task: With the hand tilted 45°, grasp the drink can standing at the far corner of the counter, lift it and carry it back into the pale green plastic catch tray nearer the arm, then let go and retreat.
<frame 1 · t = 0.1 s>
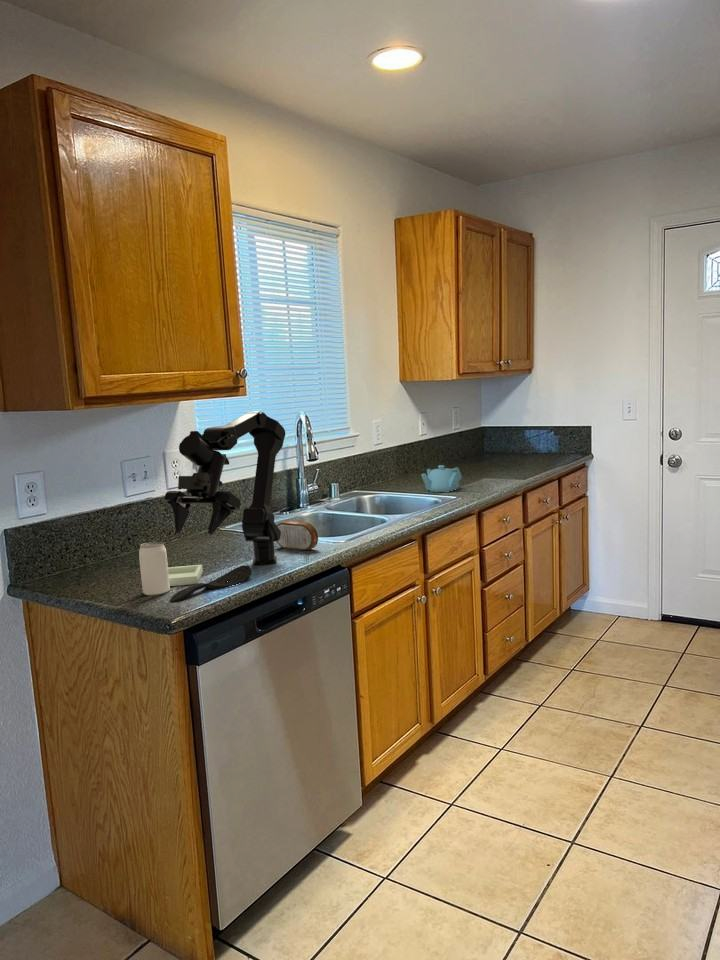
hand: (193, 533, 176), 15 cm above the worktop, tool tilted 35°, fingers open, 9 cm apart
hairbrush: (211, 590, 183), on the worktop
can: (156, 592, 182), on the worktop
teapot: (442, 491, 313), on the worktop
tin: (296, 549, 220), on the worktop
tray: (177, 579, 193), on the worktop
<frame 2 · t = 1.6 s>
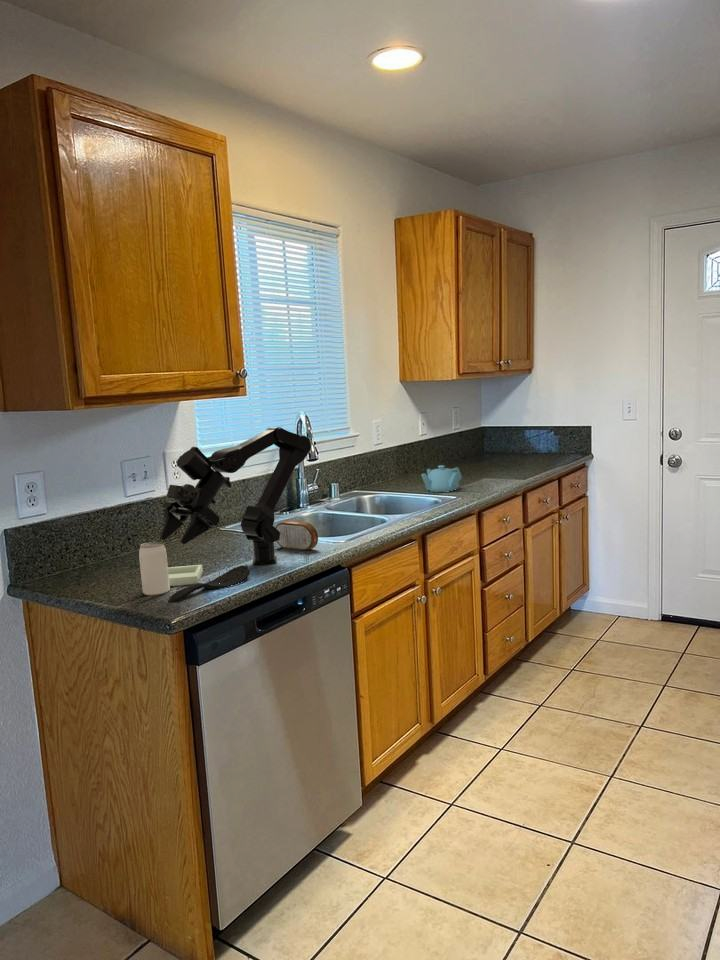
hand: (171, 541, 185), 12 cm above the worktop, tool tilted 45°, fingers open, 9 cm apart
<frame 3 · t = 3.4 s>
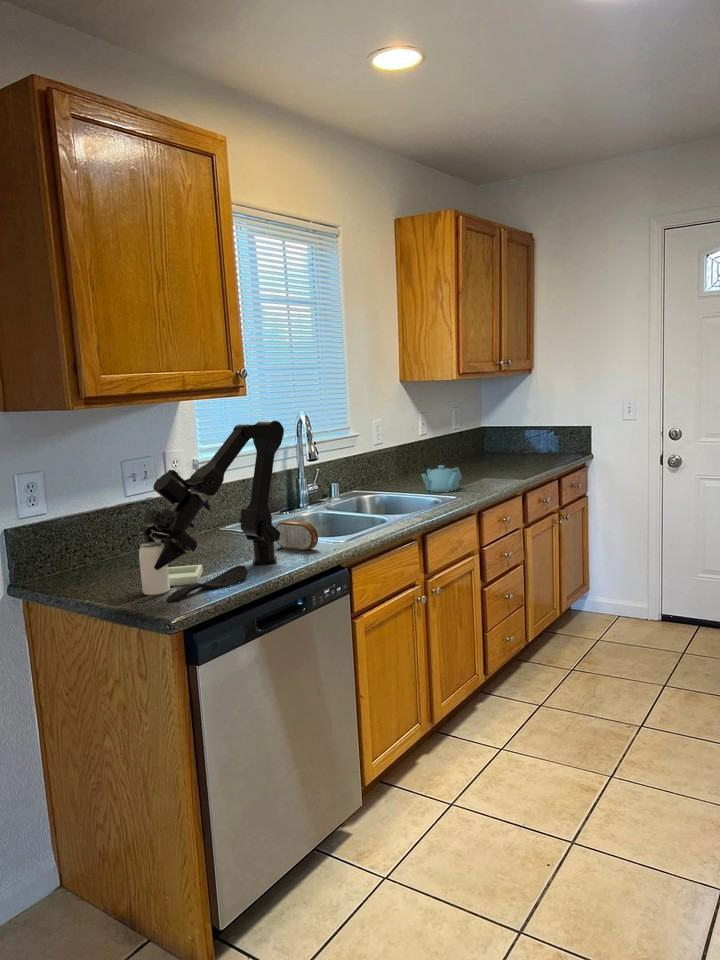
hand: (148, 567, 180), 7 cm above the worktop, tool tilted 45°, fingers closed on can, 6 cm apart
can: (156, 592, 182), on the worktop, touching gripper
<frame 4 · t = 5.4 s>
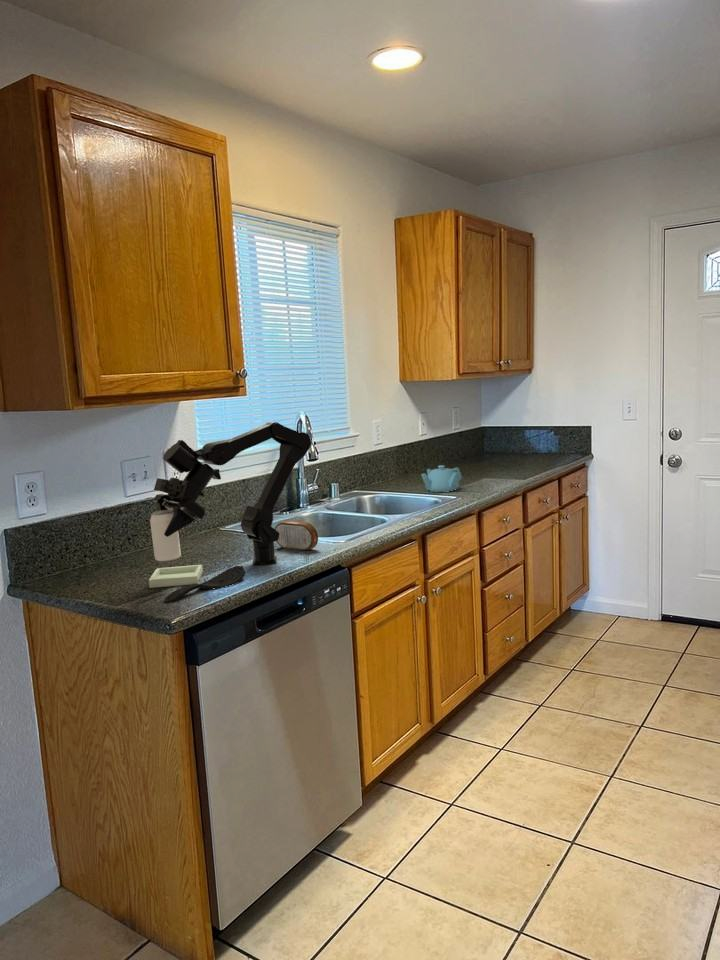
hand: (159, 534, 187), 13 cm above the worktop, tool tilted 45°, fingers closed on can, 6 cm apart
can: (168, 559, 189), point 6 cm above the worktop, touching gripper
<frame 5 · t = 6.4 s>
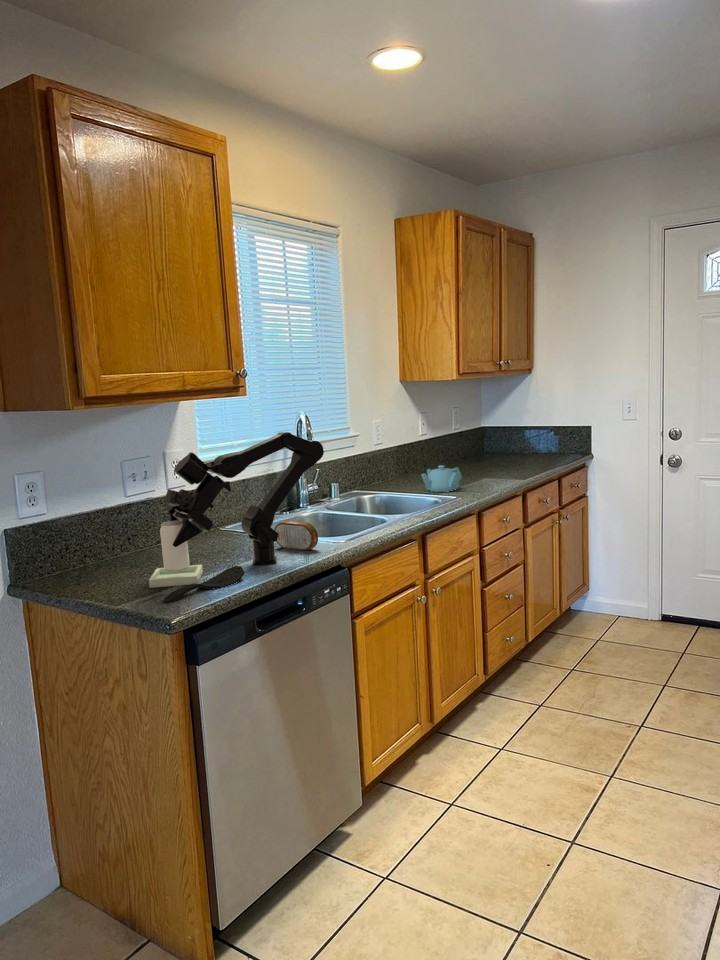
hand: (169, 544, 191), 10 cm above the worktop, tool tilted 45°, fingers closed on can, 6 cm apart
can: (177, 568, 193), point 3 cm above the worktop, touching gripper
when the fingers open (9 cm above the worktop, at t = 7.0 s): can drops 2 cm, resting on tray.
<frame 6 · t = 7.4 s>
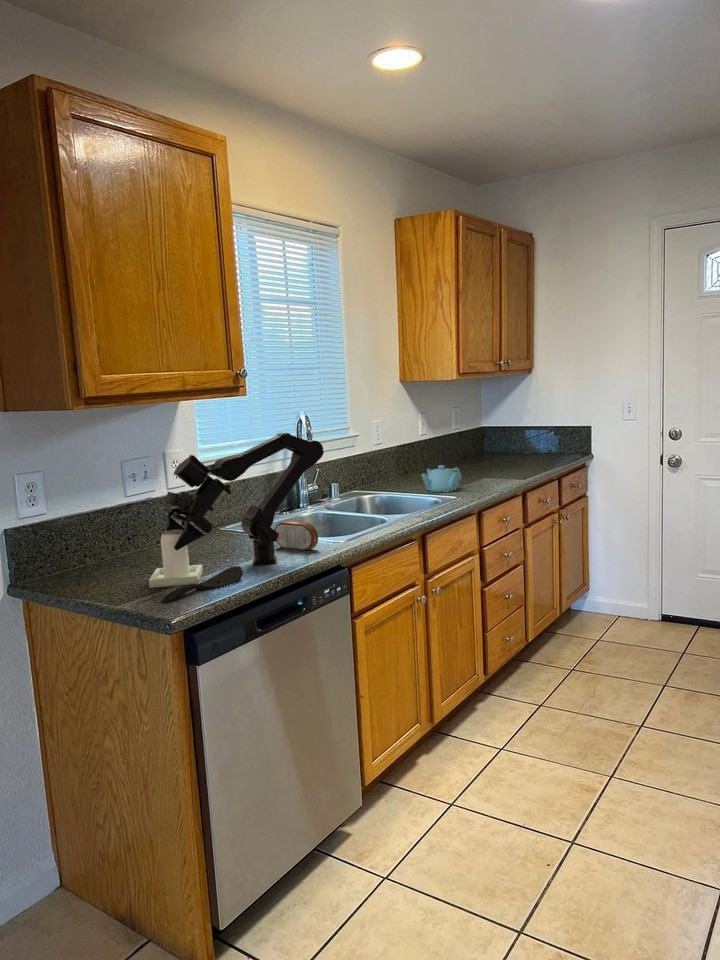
hand: (168, 546, 191), 9 cm above the worktop, tool tilted 45°, fingers open, 9 cm apart
can: (177, 577, 193), resting on tray
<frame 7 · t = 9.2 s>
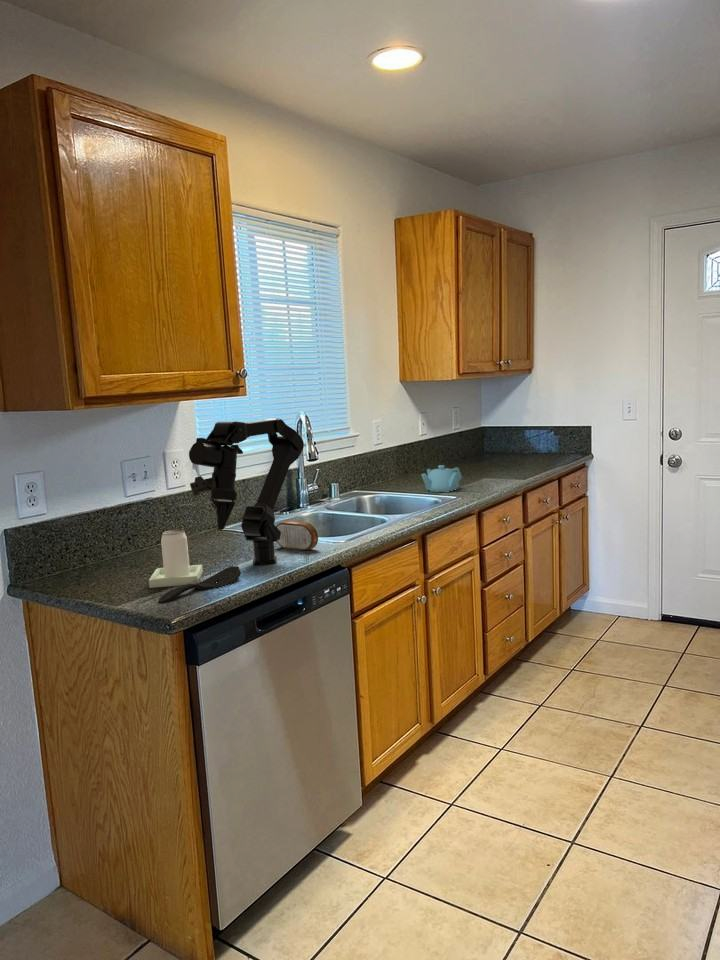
hand: (220, 529, 191), 13 cm above the worktop, tool pointing down, fingers open, 9 cm apart
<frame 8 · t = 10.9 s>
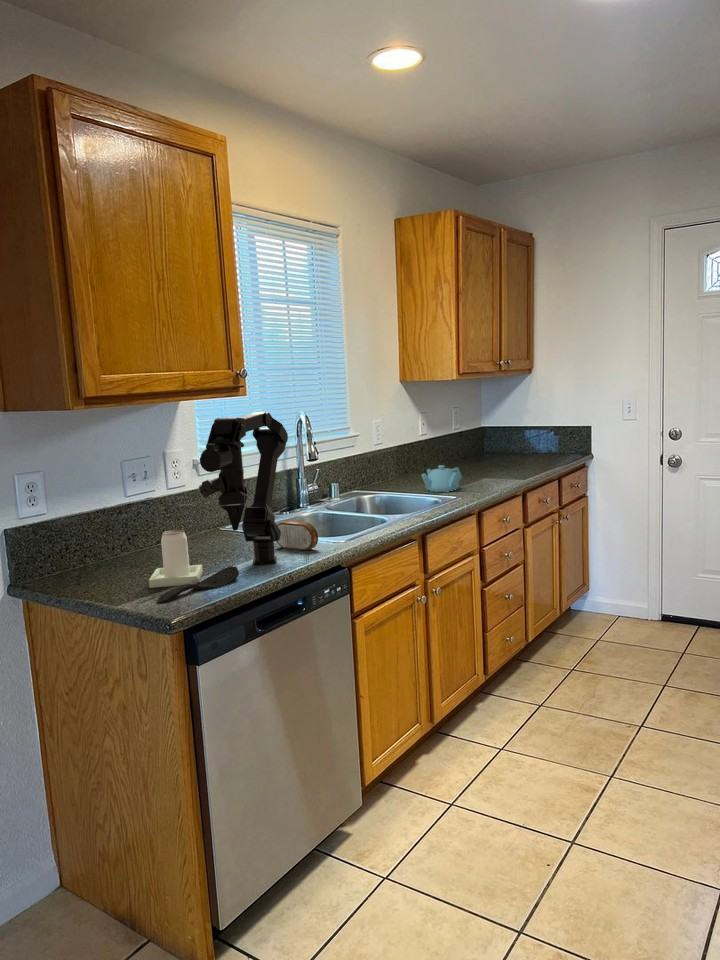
hand: (236, 526, 191), 13 cm above the worktop, tool pointing down, fingers open, 9 cm apart
at the end: can inside the target area on the tray (0.2 cm from its centre), point 0.4 cm above the tray's base; can tilted 0°; the gripper is holding nothing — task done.
